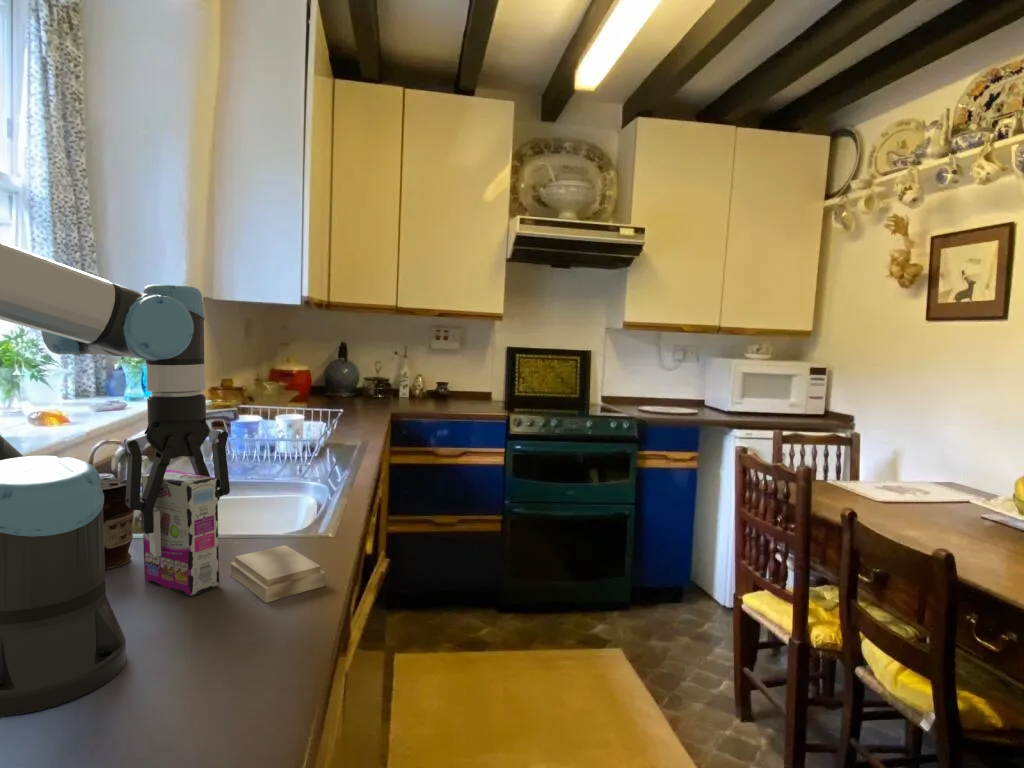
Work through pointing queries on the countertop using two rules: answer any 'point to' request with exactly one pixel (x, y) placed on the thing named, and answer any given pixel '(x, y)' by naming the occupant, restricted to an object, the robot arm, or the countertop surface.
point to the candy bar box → (185, 534)
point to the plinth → (277, 573)
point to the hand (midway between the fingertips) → (181, 548)
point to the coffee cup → (116, 523)
